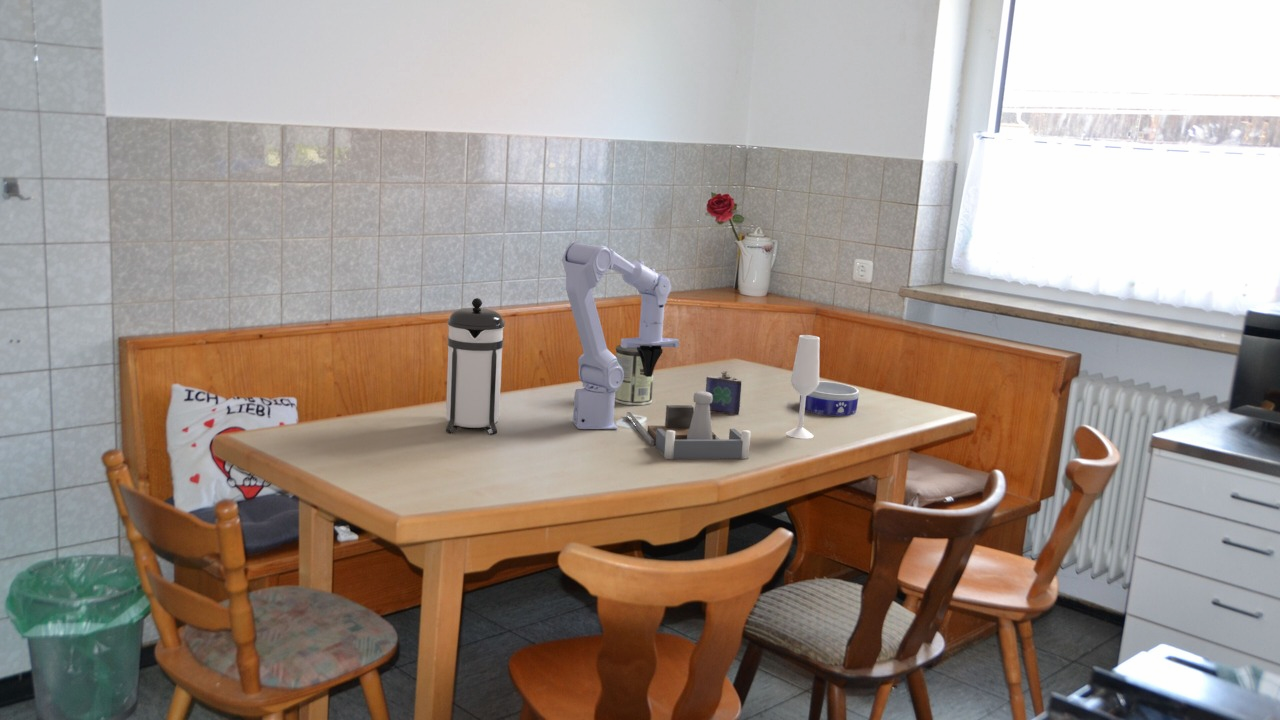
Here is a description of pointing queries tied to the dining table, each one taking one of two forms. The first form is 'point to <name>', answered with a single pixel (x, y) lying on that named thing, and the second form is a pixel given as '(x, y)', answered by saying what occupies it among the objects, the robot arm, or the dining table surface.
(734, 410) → the flask
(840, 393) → the dog bowl
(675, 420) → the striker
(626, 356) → the coffee can
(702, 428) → the salt shaker
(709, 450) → the frame
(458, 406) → the coffee press
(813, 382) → the champagne flute
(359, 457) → the dining table surface
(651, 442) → the rails
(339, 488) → the dining table surface
